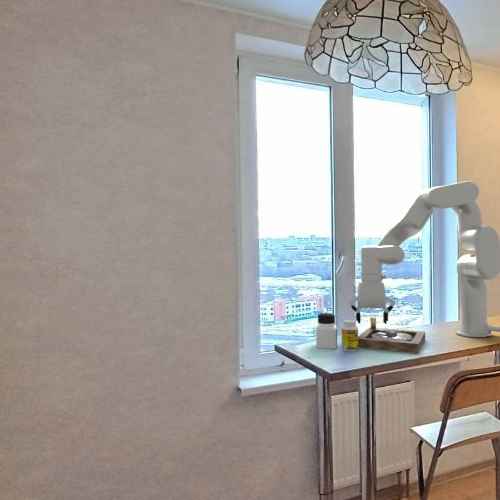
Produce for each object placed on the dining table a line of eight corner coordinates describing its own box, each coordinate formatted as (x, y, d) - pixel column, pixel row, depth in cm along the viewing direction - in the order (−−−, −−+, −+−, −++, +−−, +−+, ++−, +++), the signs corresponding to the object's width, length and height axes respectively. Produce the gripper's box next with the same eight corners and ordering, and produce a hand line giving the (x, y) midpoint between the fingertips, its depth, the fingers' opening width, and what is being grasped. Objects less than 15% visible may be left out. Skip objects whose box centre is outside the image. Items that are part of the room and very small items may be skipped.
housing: (425, 340, 164) (425, 331, 164) (418, 353, 146) (418, 343, 146) (368, 335, 174) (368, 327, 174) (355, 347, 155) (355, 338, 155)
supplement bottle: (346, 352, 149) (346, 322, 149) (339, 348, 154) (338, 320, 154) (361, 351, 150) (360, 321, 150) (353, 347, 156) (352, 318, 155)
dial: (420, 340, 158) (419, 321, 157) (394, 346, 150) (393, 325, 150) (383, 333, 172) (383, 315, 171) (358, 338, 164) (358, 319, 164)
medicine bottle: (336, 349, 154) (336, 315, 154) (316, 348, 155) (315, 315, 155) (337, 344, 161) (336, 311, 161) (317, 343, 162) (316, 311, 162)
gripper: (393, 277, 169) (393, 321, 169) (347, 277, 171) (347, 321, 172) (397, 279, 162) (397, 325, 162) (349, 279, 164) (349, 324, 164)
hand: (371, 323), depth 167 cm, fingers open, 9 cm apart
